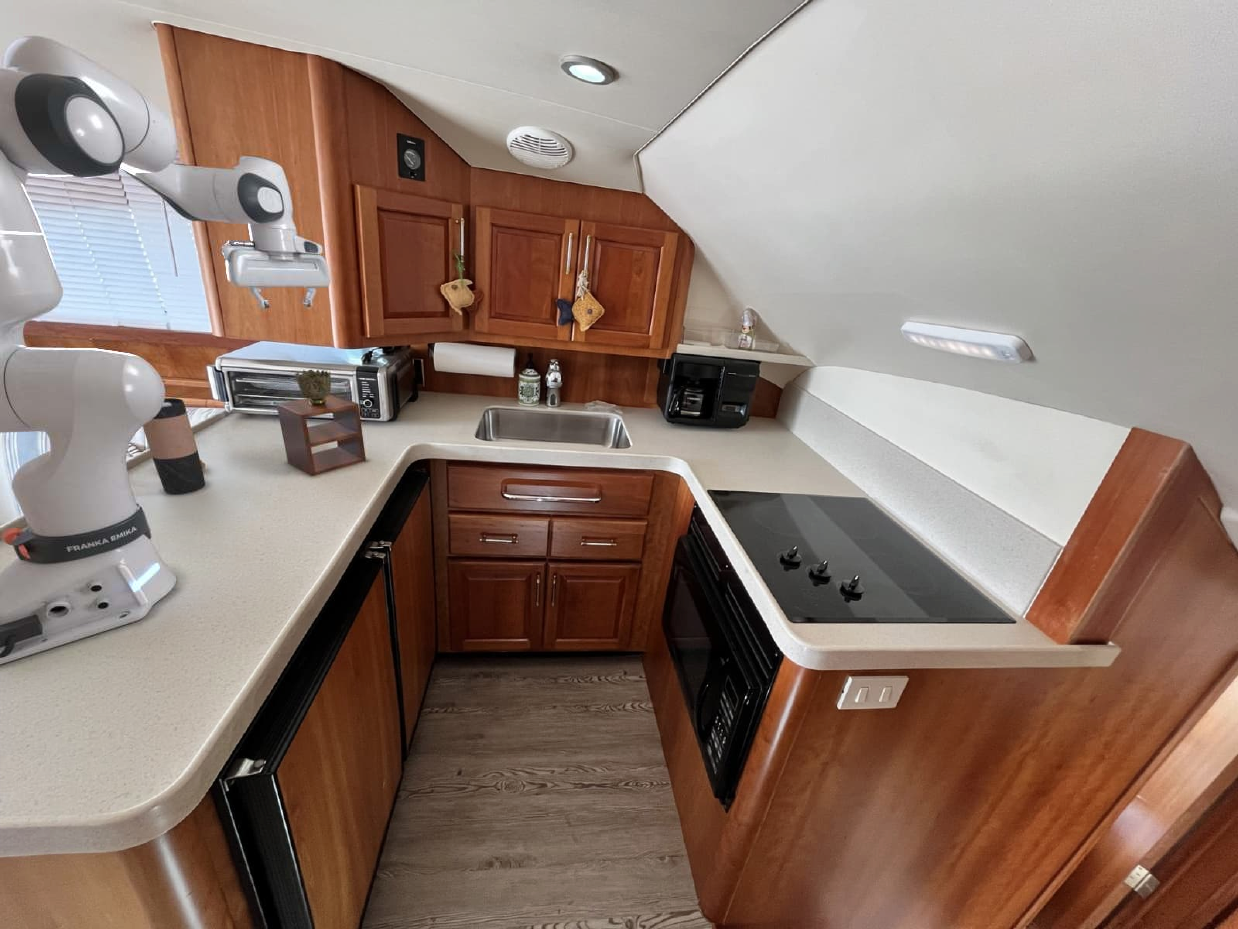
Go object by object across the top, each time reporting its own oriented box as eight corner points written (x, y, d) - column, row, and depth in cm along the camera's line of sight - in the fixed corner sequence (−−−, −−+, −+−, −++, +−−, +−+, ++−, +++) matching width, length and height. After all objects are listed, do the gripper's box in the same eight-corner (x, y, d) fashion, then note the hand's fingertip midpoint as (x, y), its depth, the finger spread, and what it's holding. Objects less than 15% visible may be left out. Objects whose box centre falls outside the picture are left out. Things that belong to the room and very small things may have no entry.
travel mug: (195, 494, 108) (170, 408, 101) (154, 495, 107) (126, 407, 99) (214, 480, 115) (191, 398, 108) (175, 480, 114) (150, 397, 106)
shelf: (311, 476, 121) (300, 414, 115) (287, 463, 127) (276, 403, 121) (366, 460, 132) (358, 403, 126) (341, 449, 138) (333, 394, 132)
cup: (319, 409, 119) (314, 377, 116) (293, 405, 120) (287, 373, 117) (341, 402, 126) (337, 371, 123) (316, 398, 127) (311, 368, 124)
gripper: (226, 239, 99) (241, 310, 105) (329, 246, 115) (337, 307, 121) (213, 238, 102) (228, 306, 108) (315, 244, 118) (323, 304, 124)
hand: (286, 307), depth 114 cm, fingers open, 8 cm apart
